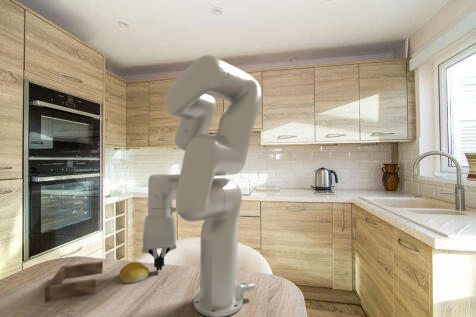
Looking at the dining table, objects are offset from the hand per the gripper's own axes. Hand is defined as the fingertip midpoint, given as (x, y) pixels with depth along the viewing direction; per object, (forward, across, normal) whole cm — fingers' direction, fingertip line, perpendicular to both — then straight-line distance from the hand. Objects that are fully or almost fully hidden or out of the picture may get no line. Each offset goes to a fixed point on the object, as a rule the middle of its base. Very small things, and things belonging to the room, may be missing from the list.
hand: (158, 268), depth 77 cm
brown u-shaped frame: (+1, +22, 0) cm, 23 cm away
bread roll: (+2, +7, 0) cm, 8 cm away
